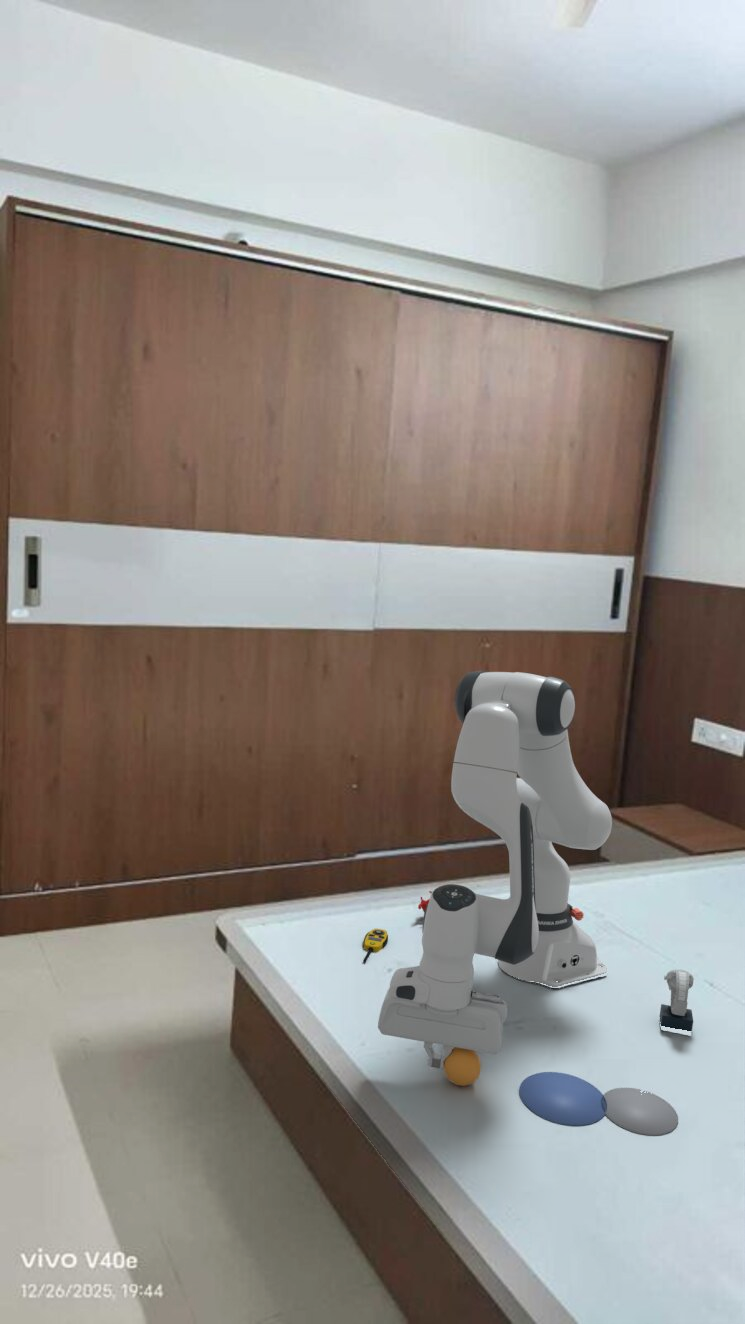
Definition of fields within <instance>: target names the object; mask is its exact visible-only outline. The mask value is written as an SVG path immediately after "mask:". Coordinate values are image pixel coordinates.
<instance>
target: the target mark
mask: <svg viewBox="0 0 745 1324" xmlns="http://www.w3.org/2000/svg"><path fill="white" fill-rule="evenodd" d="M518 1091H519V1097H520V1099H521V1101H522V1103H523V1104H524V1106H525V1107H526V1108H527V1109H529V1111H531V1112H532V1113H534V1114H535V1115H537V1116H539V1117H540V1118H543V1119H545V1120H547V1121H549V1122H551V1123H555V1124H559V1125H565V1126H573V1127H575V1126H576V1127H578V1126H579V1127H580V1126H588V1125H592V1124H595V1123H597V1122H599V1121H601V1119H603V1118H604V1117H605V1116H606V1115H605V1112H606V1110H605V1109H607V1108H606V1106H607V1104H606V1103H607V1102H606V1101H605V1102H604V1101H603V1102H604V1104H605V1105H602V1104H603V1102H602V1101H601V1098H602V1096H603V1095H604V1094H603V1093H602V1091H600V1089H598V1088H597V1087H596V1086H594V1085H593V1084H592V1083H591V1082H589V1081H587V1080H585V1079H583V1078H580V1077H578V1076H575V1075H573V1074H569V1073H564V1072H557V1071H556V1072H555V1071H545V1072H537V1073H534V1074H531V1075H528V1076H527V1077H526V1078H524V1079H523V1080H522V1082H521V1083H520V1085H519V1089H518ZM603 1100H605V1098H603ZM601 1103H602V1104H601ZM602 1107H603V1108H604V1110H605V1112H604V1111H603V1109H602Z"/></svg>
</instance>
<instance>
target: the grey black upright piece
mask: <svg viewBox="0 0 745 1324" xmlns="http://www.w3.org/2000/svg"><path fill="white" fill-rule="evenodd" d="M663 980H664V981H666V983H667V986H668V989H669V991H670V1005H669V1004H668V1005H667V1004H664V1003H661V1004H660V1009H659V1010H660V1011H659V1017H660V1022H661V1026H665V1027H670V1028H675V1029H682V1030H687V1031H693V1025H694V1017H693V1010H692V1009H689V1008H688V1004H689V1003H688V999H689V998H688V997H689V995H688V994H689V990H690V989H691V988H692V987H693V985H694V980H695V979H694V976H693V974H692V973H690V972H689V971H687V970H684V969H671V970H669V971H668V972H667V973H666V975H664V976H663Z"/></svg>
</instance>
